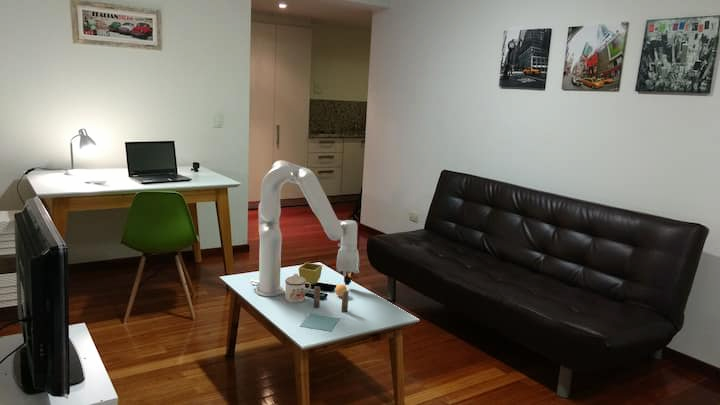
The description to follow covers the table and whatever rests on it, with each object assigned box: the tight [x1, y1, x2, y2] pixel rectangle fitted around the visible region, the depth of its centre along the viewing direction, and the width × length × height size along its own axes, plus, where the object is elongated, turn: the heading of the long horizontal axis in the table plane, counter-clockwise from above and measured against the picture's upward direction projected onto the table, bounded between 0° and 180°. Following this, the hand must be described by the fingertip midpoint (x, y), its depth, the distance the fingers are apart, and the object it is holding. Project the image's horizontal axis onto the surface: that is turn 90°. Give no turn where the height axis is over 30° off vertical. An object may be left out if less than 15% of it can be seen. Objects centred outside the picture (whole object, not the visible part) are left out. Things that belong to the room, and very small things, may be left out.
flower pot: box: [298, 262, 323, 284], centre depth 267 cm, size 9×9×9 cm
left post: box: [313, 286, 321, 309], centre depth 240 cm, size 3×3×9 cm
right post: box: [341, 290, 349, 314], centre depth 238 cm, size 3×3×9 cm
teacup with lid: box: [284, 273, 312, 304], centre depth 248 cm, size 12×9×12 cm
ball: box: [334, 283, 348, 297], centre depth 255 cm, size 6×6×6 cm
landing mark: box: [299, 313, 341, 332], centre depth 227 cm, size 13×13×1 cm
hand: (347, 283), depth 264 cm, fingers closed
